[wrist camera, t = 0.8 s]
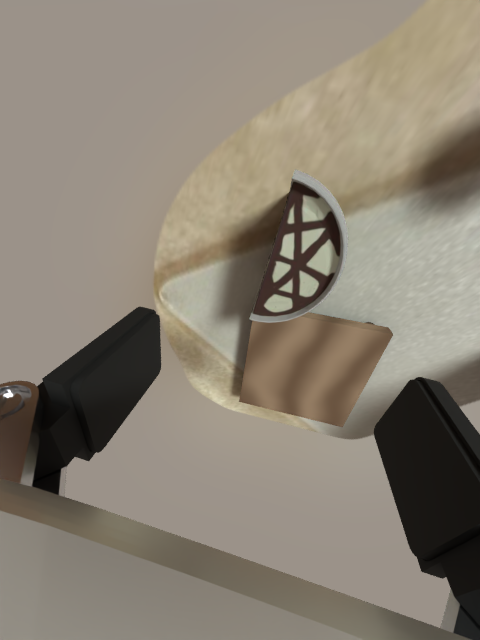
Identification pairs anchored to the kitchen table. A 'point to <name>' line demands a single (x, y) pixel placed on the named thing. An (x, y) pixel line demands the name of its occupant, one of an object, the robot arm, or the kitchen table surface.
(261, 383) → the tan square plate
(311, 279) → the food container
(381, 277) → the kitchen table surface
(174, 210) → the kitchen table surface
